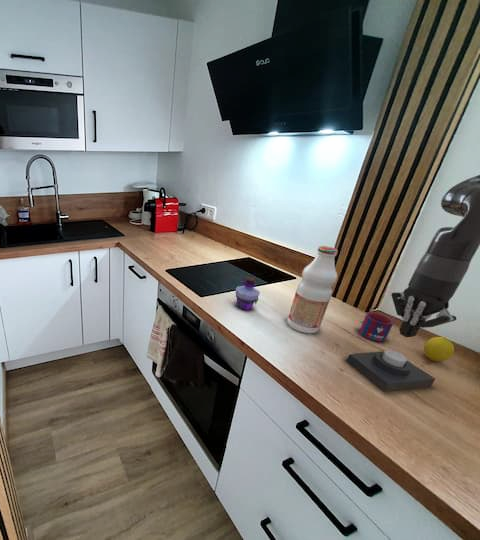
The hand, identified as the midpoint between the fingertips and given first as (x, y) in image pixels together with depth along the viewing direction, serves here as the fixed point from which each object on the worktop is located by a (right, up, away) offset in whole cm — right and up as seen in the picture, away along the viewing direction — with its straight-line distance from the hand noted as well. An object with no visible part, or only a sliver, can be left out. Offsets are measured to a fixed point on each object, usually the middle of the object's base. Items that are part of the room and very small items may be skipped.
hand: (405, 335), depth 72 cm
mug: (+11, -5, +22) cm, 25 cm away
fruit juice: (-10, -3, +25) cm, 27 cm away
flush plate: (0, -11, +5) cm, 13 cm away
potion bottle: (-25, +2, +36) cm, 44 cm away
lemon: (+18, -10, +11) cm, 23 cm away
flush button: (0, -8, +3) cm, 8 cm away
